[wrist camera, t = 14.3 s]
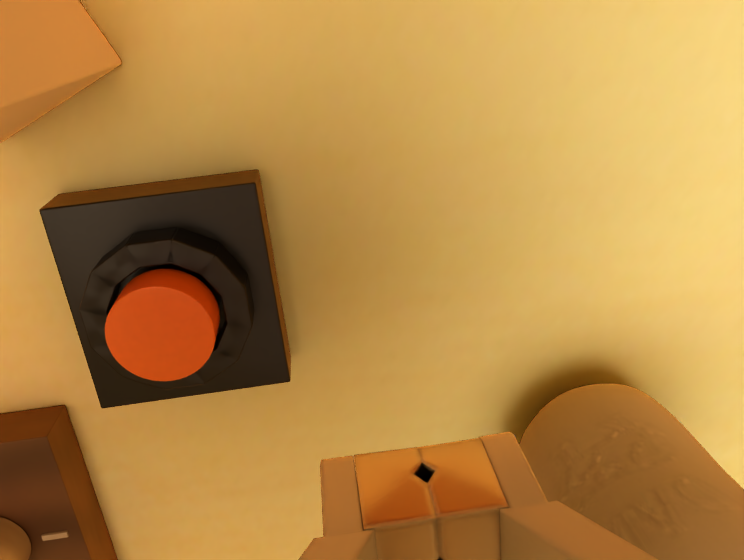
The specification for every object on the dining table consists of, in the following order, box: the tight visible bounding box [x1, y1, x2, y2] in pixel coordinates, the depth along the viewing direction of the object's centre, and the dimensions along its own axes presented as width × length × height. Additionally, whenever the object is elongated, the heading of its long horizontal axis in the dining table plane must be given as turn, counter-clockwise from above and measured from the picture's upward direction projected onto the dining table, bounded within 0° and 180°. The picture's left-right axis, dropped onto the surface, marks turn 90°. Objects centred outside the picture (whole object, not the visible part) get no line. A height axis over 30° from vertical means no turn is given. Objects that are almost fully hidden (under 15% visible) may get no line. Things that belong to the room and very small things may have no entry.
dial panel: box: [0, 405, 117, 560], centre depth 38 cm, size 13×10×3 cm
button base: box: [40, 170, 291, 408], centre depth 33 cm, size 11×10×4 cm
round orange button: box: [105, 269, 220, 381], centre depth 31 cm, size 5×5×2 cm
